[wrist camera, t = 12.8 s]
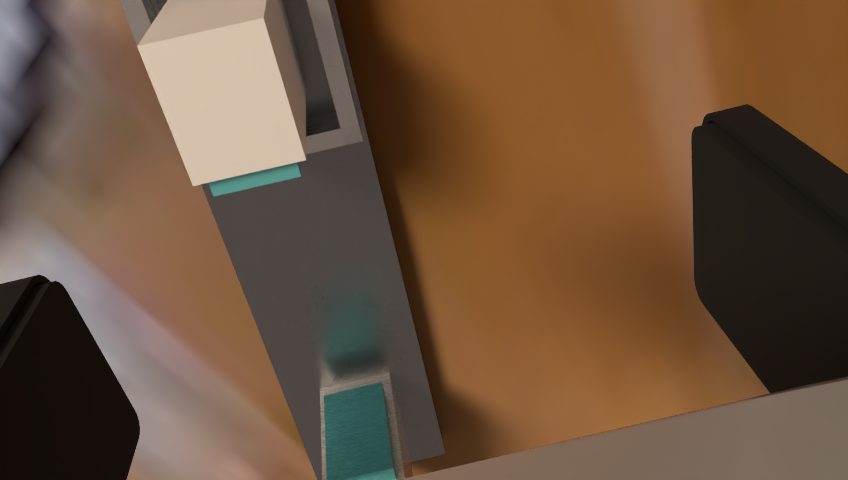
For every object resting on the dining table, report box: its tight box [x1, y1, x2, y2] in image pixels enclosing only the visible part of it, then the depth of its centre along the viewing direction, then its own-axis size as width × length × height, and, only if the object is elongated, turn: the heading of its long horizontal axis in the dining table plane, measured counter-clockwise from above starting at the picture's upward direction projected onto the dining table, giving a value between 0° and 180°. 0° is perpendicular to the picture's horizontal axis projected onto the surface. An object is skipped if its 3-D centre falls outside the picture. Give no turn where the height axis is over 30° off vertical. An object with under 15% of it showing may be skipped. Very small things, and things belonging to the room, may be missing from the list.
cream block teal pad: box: [137, 0, 306, 196], centre depth 28 cm, size 4×6×8 cm
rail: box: [119, 0, 446, 480], centre depth 34 cm, size 32×8×10 cm, turn 11°
